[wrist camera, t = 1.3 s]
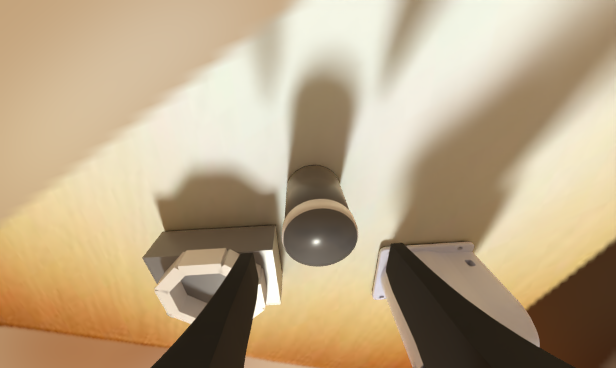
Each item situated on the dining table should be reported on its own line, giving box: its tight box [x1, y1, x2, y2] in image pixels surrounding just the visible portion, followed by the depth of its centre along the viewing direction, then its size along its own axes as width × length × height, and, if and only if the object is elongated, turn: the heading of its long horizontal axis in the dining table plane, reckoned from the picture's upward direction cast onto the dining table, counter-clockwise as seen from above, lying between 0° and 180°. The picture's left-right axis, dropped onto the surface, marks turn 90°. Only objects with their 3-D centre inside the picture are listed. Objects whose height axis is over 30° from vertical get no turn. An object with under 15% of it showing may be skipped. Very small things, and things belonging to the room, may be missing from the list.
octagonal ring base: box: [143, 225, 282, 324], centre depth 19 cm, size 10×8×4 cm
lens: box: [282, 165, 358, 266], centre depth 16 cm, size 5×5×6 cm
